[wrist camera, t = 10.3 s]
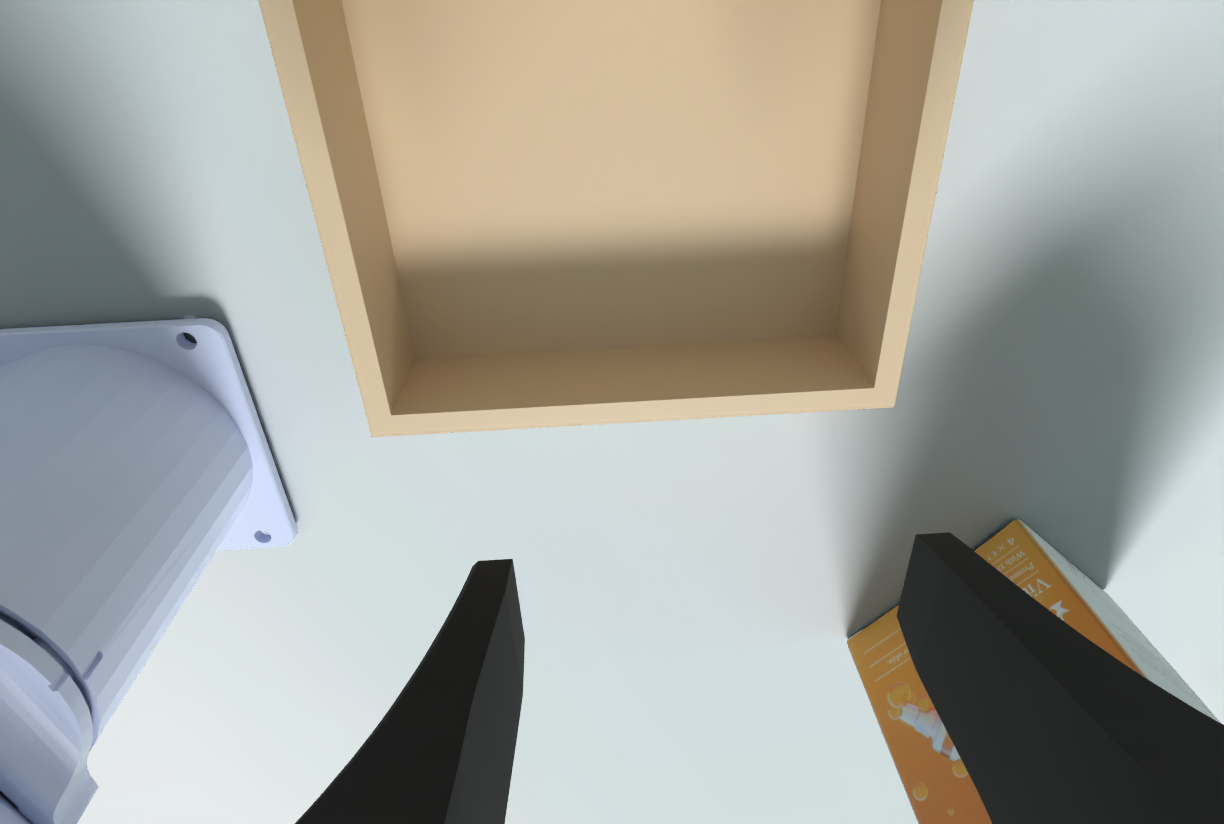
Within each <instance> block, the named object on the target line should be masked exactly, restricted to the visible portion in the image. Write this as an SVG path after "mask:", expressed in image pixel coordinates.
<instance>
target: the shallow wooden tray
mask: <svg viewBox="0 0 1224 824" xmlns="http://www.w3.org/2000/svg"><path fill="white" fill-rule="evenodd" d="M973 2H974V0H259V4H260V8H261V12H262V16H263V20H264V23H265V27H266V31H267V35H268V39H269V43H270V47H271V50H272V54H273V58H274V62H275V66H276V70H277V73H278V77H279V81H280V85H281V89H282V93H283V97H284V100H285V104H286V108H287V112H288V116H289V120H290V124H291V127H292V131H293V135H294V139H295V143H296V147H297V151H298V154H299V158H300V162H301V166H302V170H303V174H304V178H305V181H306V185H307V189H308V193H309V197H310V201H311V205H312V208H313V212H314V216H315V220H316V224H317V228H318V232H319V235H320V239H321V243H322V247H323V251H324V255H325V259H326V262H327V266H328V270H329V274H330V278H331V282H332V286H333V289H334V293H335V297H336V301H337V305H338V309H339V313H340V316H341V320H342V324H343V328H344V332H345V336H346V340H347V343H348V347H349V351H350V355H351V359H352V363H353V367H354V370H355V374H356V378H357V382H358V386H359V390H360V394H361V397H362V401H363V405H364V409H365V413H366V417H367V421H368V424H369V428H370V432H371V436H372V437H384V436H401V435H419V434H436V433H454V432H471V431H489V430H506V429H524V428H541V427H559V426H576V425H594V424H611V423H629V422H646V421H664V420H681V419H699V418H716V417H734V416H751V415H769V414H786V413H804V412H821V411H839V410H856V409H874V408H891V407H894V406H895V401H896V395H897V390H898V385H899V380H900V375H901V370H902V365H903V360H904V355H905V349H906V344H907V339H908V334H909V329H910V324H911V319H912V314H913V309H914V303H915V298H916V293H917V288H918V283H919V278H920V273H921V268H922V263H923V257H924V252H925V247H926V242H927V237H928V232H929V227H930V222H931V216H932V211H933V206H934V201H935V196H936V191H937V186H938V181H939V176H940V170H941V165H942V160H943V155H944V150H945V145H946V140H947V135H948V130H949V124H950V119H951V114H952V109H953V104H954V99H955V94H956V89H957V83H958V78H959V73H960V68H961V63H962V58H963V53H964V48H965V43H966V37H967V32H968V27H969V22H970V17H971V12H972V7H973Z"/></svg>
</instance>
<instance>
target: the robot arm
mask: <svg viewBox="0 0 1224 824" xmlns="http://www.w3.org/2000/svg"><path fill="white" fill-rule="evenodd" d="M183 332H185V333H189V334H191V335H192V336H194V338H195V339H196V341H197V344H195V343H191V342H189V341H188V340H186V338H185V337H184V336H183ZM260 530H261V531H266V532H268V533H269V534H270V535H267V534H264V533H262V532H261V531H260ZM297 533H298V530H297V525H296V523H295V520H294V517H293V514H292V511H291V508H290V506H289V503H288V500H287V497H286V494H285V491H284V489H283V486H282V483H281V480H280V477H279V474H278V472H277V469H276V466H275V463H274V460H273V457H272V455H271V452H270V449H269V446H268V443H267V441H266V438H265V435H264V432H263V429H262V426H261V424H260V421H259V418H258V415H257V412H256V409H255V407H254V404H253V401H252V398H251V395H250V392H249V390H248V387H247V384H246V381H245V378H244V375H243V373H242V370H241V367H240V364H239V361H238V358H237V356H236V353H235V350H234V347H233V344H232V341H231V339H230V336H229V333H228V331H227V330H226V328H225V327H224V326H223V325H222V324H221V323H220V322H218V321H215V320H213V319H208V318H197V319H178V320H160V321H141V322H123V323H104V324H86V325H67V326H49V327H30V328H12V329H0V824H77V822H78V821H79V819H80V817H81V816H82V814H83V812H84V811H85V809H86V807H87V805H88V804H89V802H90V800H91V799H92V797H93V795H94V794H95V792H96V790H97V789H98V785H97V783H96V782H95V781H94V779H93V778H92V777H91V776H90V774H89V771H88V769H87V758H88V754H89V752H90V750H91V749H92V747H93V745H94V744H95V742H96V741H97V739H98V738H99V736H100V734H101V733H102V731H103V730H104V728H105V726H106V725H107V723H108V722H109V720H110V719H111V717H112V715H113V714H114V712H115V711H116V709H117V707H118V706H119V704H120V703H121V701H122V700H123V698H124V696H125V695H126V693H127V692H128V690H129V689H130V687H131V685H132V684H133V682H134V681H135V679H136V677H137V676H138V674H139V673H140V671H141V670H142V668H143V666H144V665H145V663H146V662H147V660H148V658H149V657H150V655H151V654H152V652H153V651H154V649H155V647H156V646H157V644H158V643H159V641H160V639H161V638H162V636H163V635H164V633H165V632H166V630H167V628H168V627H169V625H170V624H171V622H172V621H173V619H174V617H175V616H176V614H177V613H178V611H179V609H180V608H181V606H182V605H183V603H184V602H185V600H186V598H187V597H188V595H189V594H190V592H191V590H192V589H193V587H194V586H195V584H196V583H197V581H198V579H199V578H200V576H201V575H202V573H203V572H204V570H205V568H206V567H207V565H208V564H209V562H210V560H211V559H212V557H213V556H214V554H215V553H216V551H217V550H232V549H248V548H265V547H282V546H287V545H290V544H291V543H293V541H294V539H295V537H296V535H297ZM897 619H898V622H899V625H900V628H901V630H902V633H903V636H904V639H905V642H906V645H907V648H908V650H909V653H910V656H911V658H912V661H913V664H914V666H915V669H916V671H917V673H918V675H919V677H920V679H921V681H922V683H923V685H924V687H925V689H926V691H927V693H928V695H929V697H930V699H931V701H932V703H933V705H934V707H935V709H936V711H937V713H938V715H939V717H940V719H941V721H942V723H943V725H944V727H945V729H946V731H947V733H948V735H949V737H950V738H951V740H952V742H953V744H954V746H955V748H956V750H957V752H958V754H959V756H960V758H961V760H962V762H963V764H964V766H965V768H966V770H967V772H968V774H969V775H970V777H971V779H972V781H973V783H974V785H975V787H976V789H977V791H978V793H979V795H980V798H981V800H982V802H983V804H984V806H985V808H986V811H987V813H988V815H989V817H990V819H991V822H992V824H1224V725H1223V724H1221V723H1219V722H1218V721H1216V720H1214V719H1212V718H1211V717H1209V716H1207V715H1205V714H1204V713H1202V712H1200V711H1198V710H1197V709H1195V708H1193V707H1192V706H1190V705H1188V704H1187V703H1185V702H1184V701H1182V700H1180V699H1179V698H1177V697H1175V696H1174V695H1172V694H1171V693H1169V692H1167V691H1166V690H1164V689H1162V688H1161V687H1159V686H1158V685H1156V684H1154V683H1153V682H1151V681H1149V680H1148V679H1146V678H1145V677H1143V676H1142V675H1140V674H1139V673H1137V672H1136V671H1134V670H1132V669H1131V668H1129V667H1128V666H1126V665H1125V664H1123V663H1122V662H1121V661H1119V660H1118V659H1116V658H1115V657H1113V656H1112V655H1110V654H1109V653H1108V652H1106V651H1105V650H1103V649H1102V648H1100V647H1099V646H1098V645H1096V644H1095V643H1093V642H1092V641H1090V640H1089V639H1087V638H1086V637H1085V636H1083V635H1082V634H1081V633H1079V632H1078V631H1076V630H1075V629H1074V628H1072V627H1071V626H1070V625H1068V624H1067V623H1065V622H1064V621H1063V620H1061V619H1060V618H1059V617H1057V616H1056V615H1055V614H1053V613H1052V612H1051V611H1049V610H1048V609H1047V608H1046V607H1044V606H1043V605H1042V604H1040V603H1039V602H1038V601H1036V600H1035V599H1034V598H1033V597H1031V596H1030V595H1029V594H1027V593H1026V592H1025V591H1024V590H1022V589H1021V588H1020V587H1018V586H1017V585H1016V584H1015V583H1013V582H1012V581H1011V580H1010V579H1008V578H1007V577H1006V576H1005V575H1003V574H1002V573H1001V572H1000V571H998V570H997V569H996V568H995V567H993V566H992V565H991V564H990V563H988V562H987V561H986V560H984V559H983V558H982V557H981V556H979V555H978V554H977V553H976V552H974V551H973V550H972V549H971V548H969V547H968V546H967V545H966V544H964V543H963V542H962V541H960V540H959V539H958V538H956V537H955V536H954V535H952V534H951V533H936V534H919V535H916V537H915V541H914V545H913V549H912V553H911V557H910V562H909V566H908V570H907V574H906V578H905V582H904V587H903V591H902V595H901V599H900V603H899V607H898V612H897ZM524 643H525V638H524V631H523V625H522V618H521V612H520V605H519V599H518V592H517V585H516V579H515V572H514V566H513V559H504V560H488V561H478V562H477V563H476V564H475V565H474V566H473V567H472V569H471V571H470V573H469V576H468V578H467V580H466V582H465V584H464V586H463V588H462V590H461V592H460V594H459V596H458V598H457V600H456V602H455V604H454V606H453V608H452V610H451V612H450V613H449V615H448V617H447V619H446V621H445V623H444V624H443V626H442V628H441V629H440V631H439V633H438V635H437V636H436V638H435V640H434V641H433V643H432V645H431V646H430V648H429V650H428V651H427V653H426V655H425V657H424V658H423V660H422V661H421V663H420V665H419V666H418V668H417V669H416V671H415V672H414V674H413V675H412V677H411V678H410V680H409V681H408V683H407V684H406V686H405V687H404V689H403V690H402V692H401V693H400V695H399V696H398V698H397V699H396V701H395V702H394V704H393V705H392V706H391V708H390V709H389V711H388V712H387V713H386V715H385V716H384V718H383V719H382V720H381V722H380V723H379V724H378V726H377V727H376V728H375V730H374V731H373V732H372V734H371V735H370V736H369V738H368V739H367V740H366V741H365V743H364V744H363V745H362V747H361V748H360V749H359V750H358V752H357V753H356V754H355V755H354V757H353V758H352V759H351V760H350V762H349V763H348V764H347V765H346V766H345V767H344V769H343V770H342V771H341V772H340V773H339V774H338V776H337V777H336V778H335V779H334V780H333V782H332V783H331V784H330V785H329V786H328V787H327V789H326V790H325V791H324V792H323V793H322V794H321V796H320V797H319V798H318V799H317V800H316V801H315V802H314V803H313V805H312V806H311V807H310V808H309V809H308V810H307V811H306V812H305V813H304V814H303V815H302V817H301V818H300V819H299V820H298V821H297V822H296V823H295V824H504V823H505V816H506V809H507V802H508V795H509V788H510V781H511V774H512V767H513V760H514V753H515V746H516V739H517V732H518V725H519V718H520V711H521V703H522V696H523V675H524Z"/></svg>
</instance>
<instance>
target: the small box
mask: <svg viewBox="0 0 1224 824" xmlns="http://www.w3.org/2000/svg"><path fill="white" fill-rule="evenodd" d="M974 552H976V553H977V554H978V555H979V556H981V557H982V558H983V559H984V560H986V561H987V562H988V563H990V564H991V565H992V566H993V567H995V568H996V569H997V570H998V571H1000V572H1001V573H1002V574H1003V575H1005V576H1006V577H1007V578H1008V579H1010V580H1011V581H1012V582H1013V583H1015V584H1016V585H1017V586H1018V587H1020V588H1021V589H1022V590H1024V591H1025V592H1026V593H1027V594H1029V595H1030V596H1031V597H1033V598H1034V599H1035V600H1036V601H1038V602H1039V603H1040V604H1042V605H1043V606H1044V607H1046V608H1047V609H1048V610H1049V611H1051V612H1052V613H1053V614H1055V615H1056V616H1057V617H1059V618H1060V619H1061V620H1063V621H1064V622H1065V623H1067V624H1068V625H1070V626H1071V627H1072V628H1074V629H1075V630H1076V631H1078V632H1079V633H1081V634H1082V635H1083V636H1085V637H1086V638H1087V639H1089V640H1090V641H1092V642H1093V643H1095V644H1096V645H1098V646H1099V647H1100V648H1102V649H1103V650H1105V651H1106V652H1108V653H1109V654H1110V655H1112V656H1113V657H1115V658H1116V659H1118V660H1119V661H1121V662H1122V663H1123V664H1125V665H1126V666H1128V667H1129V668H1131V669H1132V670H1134V671H1136V672H1137V673H1139V674H1140V675H1142V676H1143V677H1145V678H1146V679H1148V680H1149V681H1151V682H1153V683H1154V684H1156V685H1158V686H1159V687H1161V688H1162V689H1164V690H1166V691H1167V692H1169V693H1171V694H1172V695H1174V696H1175V697H1177V698H1179V699H1180V700H1182V701H1184V702H1185V703H1187V704H1188V705H1190V706H1192V707H1193V708H1195V709H1197V710H1198V711H1200V712H1202V713H1204V714H1205V715H1207V716H1209V717H1211V718H1212V719H1214V720H1216V721H1218V722H1219V720H1218V719H1217V718H1216V717H1215V716H1214V715H1213V713H1212V712H1211V711H1210V710H1209V709H1208V707H1207V706H1206V705H1205V704H1204V703H1203V702H1202V700H1201V699H1200V698H1199V697H1198V696H1197V695H1196V694H1195V692H1194V691H1193V690H1192V689H1191V688H1190V687H1189V686H1188V684H1187V683H1186V682H1185V681H1184V680H1183V679H1182V678H1181V676H1180V675H1179V674H1178V673H1177V672H1176V671H1175V670H1174V668H1173V667H1172V666H1171V665H1170V664H1169V663H1168V662H1167V661H1166V659H1165V658H1164V657H1163V656H1162V655H1161V654H1160V653H1159V652H1158V650H1157V649H1156V648H1155V647H1154V646H1153V645H1152V644H1151V643H1150V641H1149V640H1148V639H1147V638H1146V637H1145V636H1144V635H1143V633H1142V632H1141V631H1140V630H1139V629H1138V628H1137V627H1136V625H1135V624H1134V623H1133V622H1132V621H1131V620H1130V619H1129V617H1128V616H1127V615H1126V614H1125V613H1124V612H1123V610H1122V609H1121V608H1120V607H1119V606H1118V605H1117V604H1116V603H1115V602H1114V600H1113V599H1112V598H1111V597H1110V596H1109V595H1108V594H1107V593H1106V592H1104V591H1103V590H1102V589H1101V588H1100V587H1098V586H1097V585H1096V584H1095V583H1094V582H1092V581H1091V580H1090V579H1089V578H1088V577H1086V576H1085V575H1084V574H1083V573H1082V572H1081V571H1079V570H1078V569H1077V568H1076V567H1075V566H1074V565H1072V564H1071V563H1070V562H1069V561H1068V560H1067V559H1065V558H1064V557H1063V556H1062V555H1061V554H1060V553H1058V552H1057V551H1056V550H1055V549H1054V548H1053V547H1051V546H1050V545H1049V544H1048V543H1047V542H1046V541H1045V540H1043V539H1042V538H1041V537H1040V536H1039V535H1038V534H1036V533H1035V532H1034V531H1033V530H1032V529H1030V528H1029V527H1028V526H1027V525H1026V524H1025V523H1024V522H1022V521H1021V520H1019V519H1016V520H1014V521H1012V522H1011V523H1010V524H1008V525H1007V526H1006V527H1005V528H1003V529H1002V530H1001V531H1000V532H999V533H997V534H996V535H995V536H993V537H992V538H991V539H989V540H988V541H987V542H985V543H984V544H983V545H981V546H980V547H979V548H977V549H976V550H975V551H974ZM898 607H899V605H898V606H896V607H895V608H893V609H892V610H890V611H889V612H888V613H886V614H885V615H883V616H882V617H881V618H879V619H878V620H876V621H875V622H873V623H872V624H871V625H869V626H868V627H866V628H865V629H863V630H860V631H858V632H857V633H855V634H854V635H853V636H851V637H850V638H849V639H848V641H847V644H848V648H849V650H850V653H851V656H852V658H853V661H854V663H855V665H856V668H857V670H858V673H859V675H860V678H861V680H862V683H863V685H864V688H865V690H866V693H867V695H868V698H869V701H870V703H871V706H872V708H873V711H874V713H875V716H876V718H877V721H878V724H879V726H880V729H881V731H882V734H883V736H884V739H885V741H886V744H887V746H888V749H889V751H890V754H891V757H892V759H893V761H894V764H895V766H896V769H897V771H898V774H899V776H900V779H901V781H902V784H903V786H904V789H905V791H906V794H907V796H908V799H909V801H910V804H911V806H912V809H913V811H914V814H915V816H916V819H917V821H918V824H992V822H991V819H990V817H989V815H988V813H987V811H986V808H985V806H984V804H983V802H982V800H981V798H980V795H979V793H978V791H977V789H976V787H975V785H974V783H973V781H972V779H971V777H970V775H969V774H968V772H967V770H966V768H965V766H964V764H963V762H962V760H961V758H960V756H959V754H958V752H957V750H956V748H955V746H954V744H953V742H952V740H951V738H950V737H949V735H948V733H947V731H946V729H945V727H944V725H943V723H942V721H941V719H940V717H939V715H938V713H937V711H936V709H935V707H934V705H933V703H932V701H931V699H930V697H929V695H928V693H927V691H926V689H925V687H924V685H923V683H922V681H921V679H920V677H919V675H918V673H917V671H916V669H915V666H914V664H913V661H912V658H911V656H910V653H909V650H908V648H907V645H906V642H905V639H904V636H903V633H902V630H901V628H900V625H899V622H898V619H897V612H898ZM1219 723H1220V722H1219Z"/></svg>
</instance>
